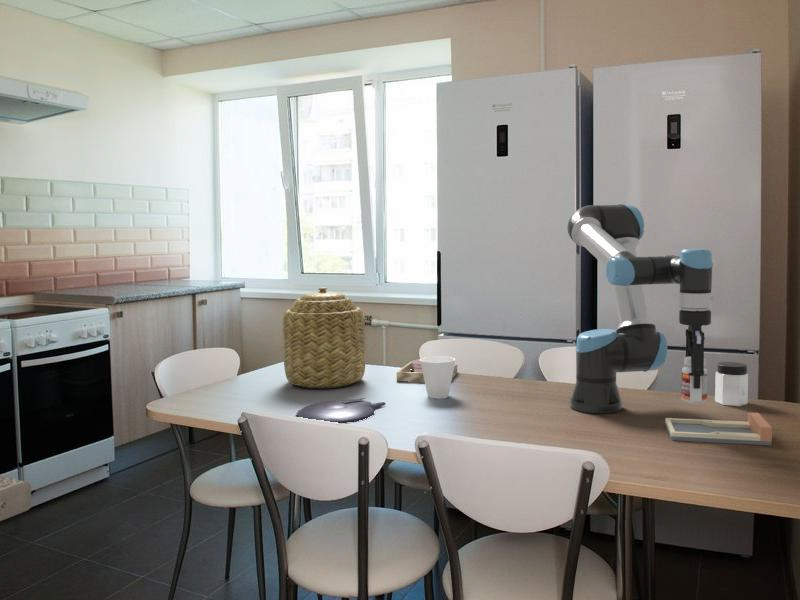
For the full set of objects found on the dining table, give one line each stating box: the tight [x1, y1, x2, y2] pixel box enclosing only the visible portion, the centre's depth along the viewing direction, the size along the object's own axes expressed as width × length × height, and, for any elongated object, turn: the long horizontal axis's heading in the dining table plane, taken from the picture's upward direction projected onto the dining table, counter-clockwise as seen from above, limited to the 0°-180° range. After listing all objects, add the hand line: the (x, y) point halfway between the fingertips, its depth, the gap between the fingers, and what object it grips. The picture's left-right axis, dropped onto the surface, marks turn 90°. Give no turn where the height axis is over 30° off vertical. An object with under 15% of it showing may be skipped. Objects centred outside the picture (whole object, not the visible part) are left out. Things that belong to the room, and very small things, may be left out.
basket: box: [282, 286, 367, 389], centre depth 250 cm, size 30×30×35 cm
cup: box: [420, 355, 456, 400], centre depth 226 cm, size 12×12×12 cm
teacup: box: [410, 358, 422, 372], centre depth 257 cm, size 12×12×6 cm
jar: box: [714, 361, 749, 407], centre depth 209 cm, size 9×8×12 cm
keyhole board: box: [664, 412, 773, 446], centre depth 178 cm, size 23×14×4 cm, turn 75°
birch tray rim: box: [396, 361, 458, 384], centre depth 257 cm, size 19×19×4 cm
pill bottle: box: [680, 356, 708, 404], centre depth 178 cm, size 6×6×11 cm
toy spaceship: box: [295, 397, 386, 424], centre depth 209 cm, size 28×24×3 cm
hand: (693, 397), depth 178 cm, fingers closed on pill bottle, 6 cm apart
